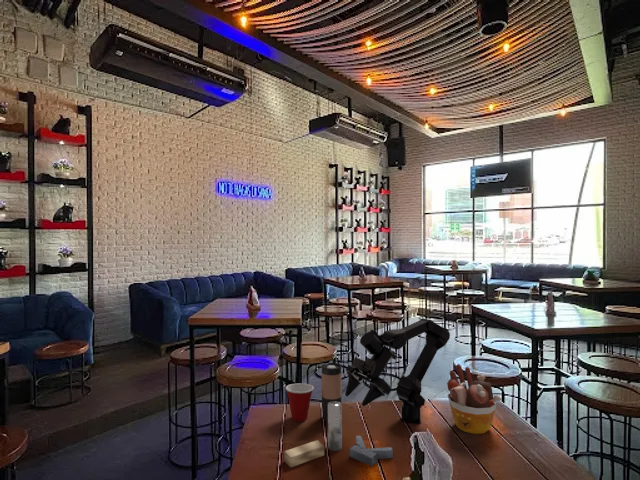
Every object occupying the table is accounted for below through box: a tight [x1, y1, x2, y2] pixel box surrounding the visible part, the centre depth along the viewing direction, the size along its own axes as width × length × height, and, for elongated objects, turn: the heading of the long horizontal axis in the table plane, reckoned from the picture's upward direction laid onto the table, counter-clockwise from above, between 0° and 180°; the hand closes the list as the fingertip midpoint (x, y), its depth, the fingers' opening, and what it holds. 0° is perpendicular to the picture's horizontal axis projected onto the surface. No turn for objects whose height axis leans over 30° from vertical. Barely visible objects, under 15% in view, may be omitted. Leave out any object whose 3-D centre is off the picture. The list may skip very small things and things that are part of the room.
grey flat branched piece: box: [349, 435, 394, 467], centre depth 118 cm, size 9×14×2 cm, turn 51°
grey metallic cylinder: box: [327, 401, 343, 452], centre depth 122 cm, size 5×5×14 cm
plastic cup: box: [285, 383, 314, 423], centre depth 143 cm, size 11×11×12 cm
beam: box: [283, 439, 325, 468], centre depth 116 cm, size 12×4×3 cm, turn 123°
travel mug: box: [321, 362, 342, 423], centre depth 143 cm, size 8×8×20 cm
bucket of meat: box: [446, 363, 502, 435], centre depth 136 cm, size 20×16×20 cm
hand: (354, 400), depth 127 cm, fingers open, 9 cm apart
